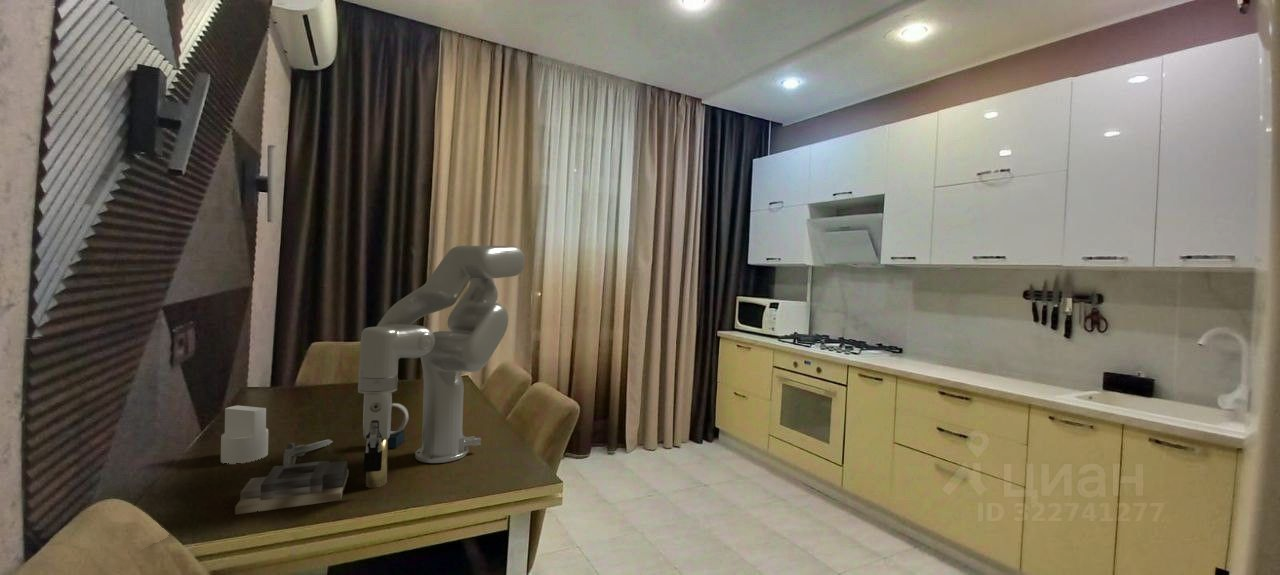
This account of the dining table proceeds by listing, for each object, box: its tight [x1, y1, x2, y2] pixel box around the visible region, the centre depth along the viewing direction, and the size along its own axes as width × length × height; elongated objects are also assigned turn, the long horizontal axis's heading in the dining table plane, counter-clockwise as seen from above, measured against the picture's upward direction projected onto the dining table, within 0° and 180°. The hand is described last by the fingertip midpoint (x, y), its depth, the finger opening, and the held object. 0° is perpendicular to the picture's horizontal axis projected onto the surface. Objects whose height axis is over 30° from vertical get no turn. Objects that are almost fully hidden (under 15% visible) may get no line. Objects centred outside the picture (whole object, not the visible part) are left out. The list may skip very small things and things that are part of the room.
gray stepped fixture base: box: [234, 460, 350, 516], centre depth 101 cm, size 17×13×4 cm
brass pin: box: [365, 436, 388, 489], centre depth 107 cm, size 4×4×10 cm
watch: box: [388, 402, 410, 450], centre depth 131 cm, size 6×8×11 cm
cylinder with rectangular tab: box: [220, 405, 269, 465], centre depth 119 cm, size 9×9×12 cm
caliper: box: [282, 439, 334, 465], centre depth 122 cm, size 20×1×6 cm, turn 7°
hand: (374, 463), depth 106 cm, fingers open, 9 cm apart
